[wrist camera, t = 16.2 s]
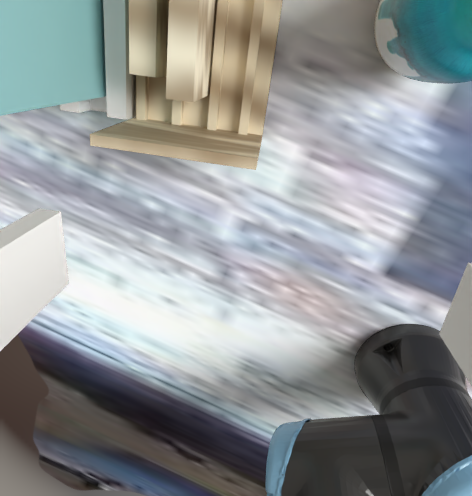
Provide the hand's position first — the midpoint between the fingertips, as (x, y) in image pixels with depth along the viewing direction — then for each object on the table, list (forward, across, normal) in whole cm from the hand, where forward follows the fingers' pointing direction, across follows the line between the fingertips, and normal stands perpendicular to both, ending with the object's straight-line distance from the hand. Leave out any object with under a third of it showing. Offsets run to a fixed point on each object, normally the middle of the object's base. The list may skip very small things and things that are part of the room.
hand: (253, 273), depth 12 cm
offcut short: (+34, +13, -10) cm, 37 cm away
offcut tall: (+34, +8, -10) cm, 36 cm away
